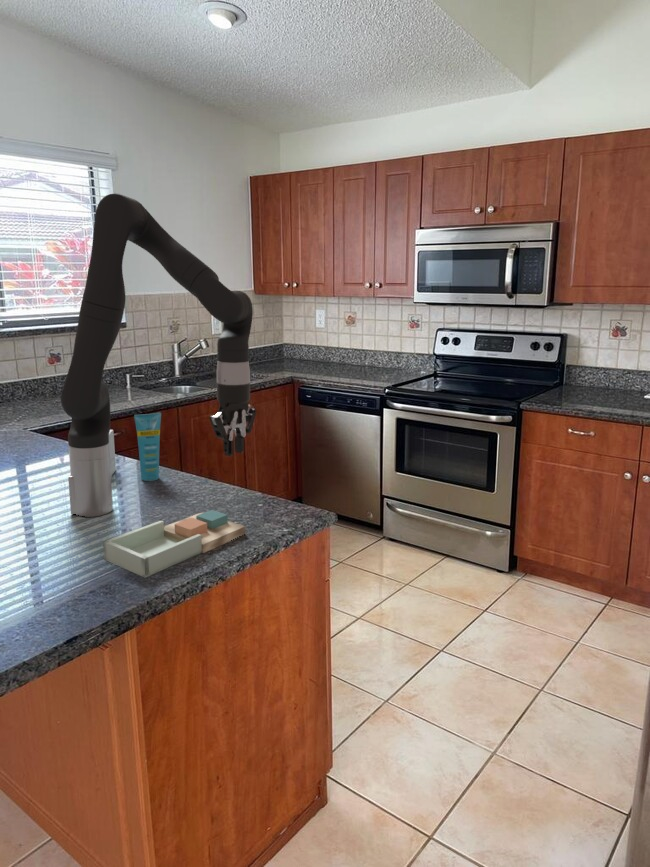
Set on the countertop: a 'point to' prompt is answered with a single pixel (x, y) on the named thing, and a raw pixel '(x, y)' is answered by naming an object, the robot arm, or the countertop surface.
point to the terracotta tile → (190, 527)
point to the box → (149, 550)
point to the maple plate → (209, 534)
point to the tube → (148, 444)
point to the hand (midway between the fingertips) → (234, 453)
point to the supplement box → (112, 452)
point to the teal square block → (213, 518)
